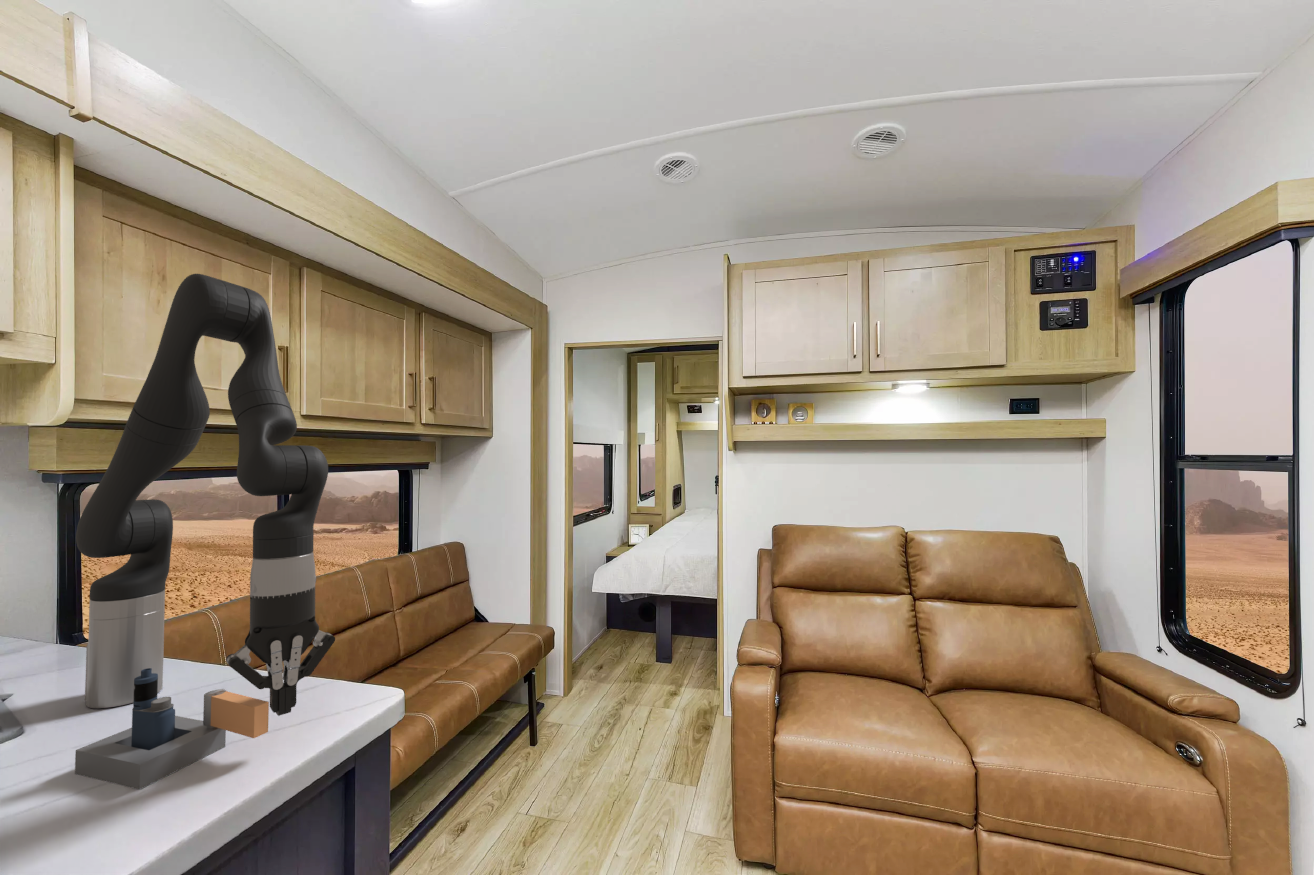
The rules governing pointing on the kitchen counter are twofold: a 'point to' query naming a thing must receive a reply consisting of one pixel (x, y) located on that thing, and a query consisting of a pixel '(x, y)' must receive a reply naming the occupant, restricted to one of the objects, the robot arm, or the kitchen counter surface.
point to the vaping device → (151, 713)
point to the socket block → (148, 754)
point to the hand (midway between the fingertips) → (282, 712)
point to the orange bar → (236, 713)
